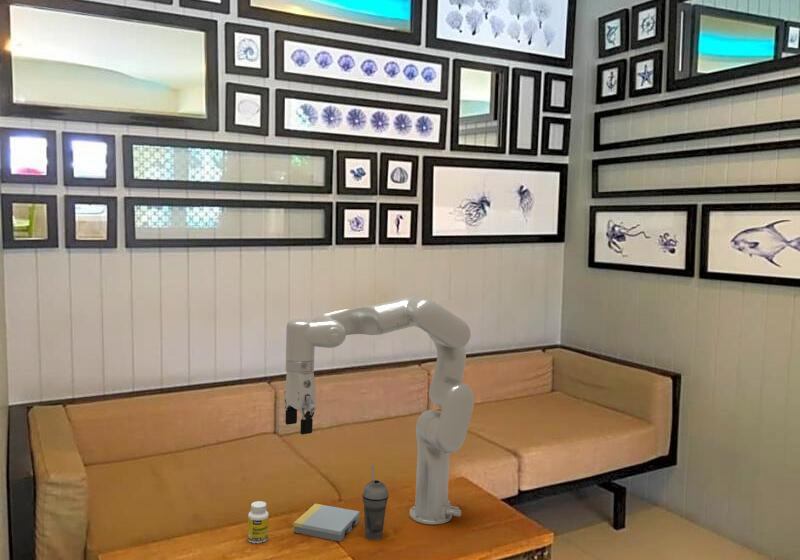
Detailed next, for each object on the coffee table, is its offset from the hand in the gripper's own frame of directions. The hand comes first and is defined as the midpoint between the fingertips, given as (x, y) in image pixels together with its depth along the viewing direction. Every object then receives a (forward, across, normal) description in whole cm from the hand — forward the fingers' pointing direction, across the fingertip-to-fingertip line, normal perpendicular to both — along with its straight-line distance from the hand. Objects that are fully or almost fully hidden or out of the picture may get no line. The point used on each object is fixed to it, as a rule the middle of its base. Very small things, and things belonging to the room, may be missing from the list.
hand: (298, 428), depth 180 cm
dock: (+30, +1, -10) cm, 32 cm away
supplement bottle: (+30, +3, +10) cm, 32 cm away
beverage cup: (+30, -10, -19) cm, 37 cm away
